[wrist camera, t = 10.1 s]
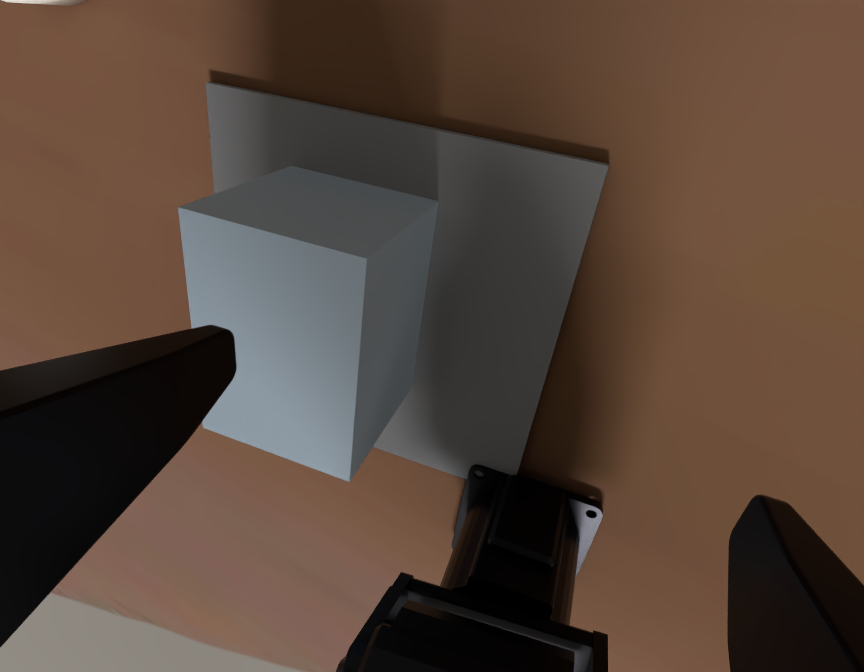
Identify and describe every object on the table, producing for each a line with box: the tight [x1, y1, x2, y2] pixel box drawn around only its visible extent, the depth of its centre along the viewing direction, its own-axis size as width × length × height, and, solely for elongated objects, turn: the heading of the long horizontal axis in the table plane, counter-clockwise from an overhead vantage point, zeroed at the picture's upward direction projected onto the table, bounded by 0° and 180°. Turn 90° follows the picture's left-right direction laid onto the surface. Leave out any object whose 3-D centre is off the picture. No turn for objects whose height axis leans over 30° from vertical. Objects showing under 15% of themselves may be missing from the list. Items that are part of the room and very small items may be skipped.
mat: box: [206, 82, 609, 480], centre depth 24 cm, size 16×16×1 cm
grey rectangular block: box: [178, 166, 438, 482], centre depth 21 cm, size 9×6×6 cm
